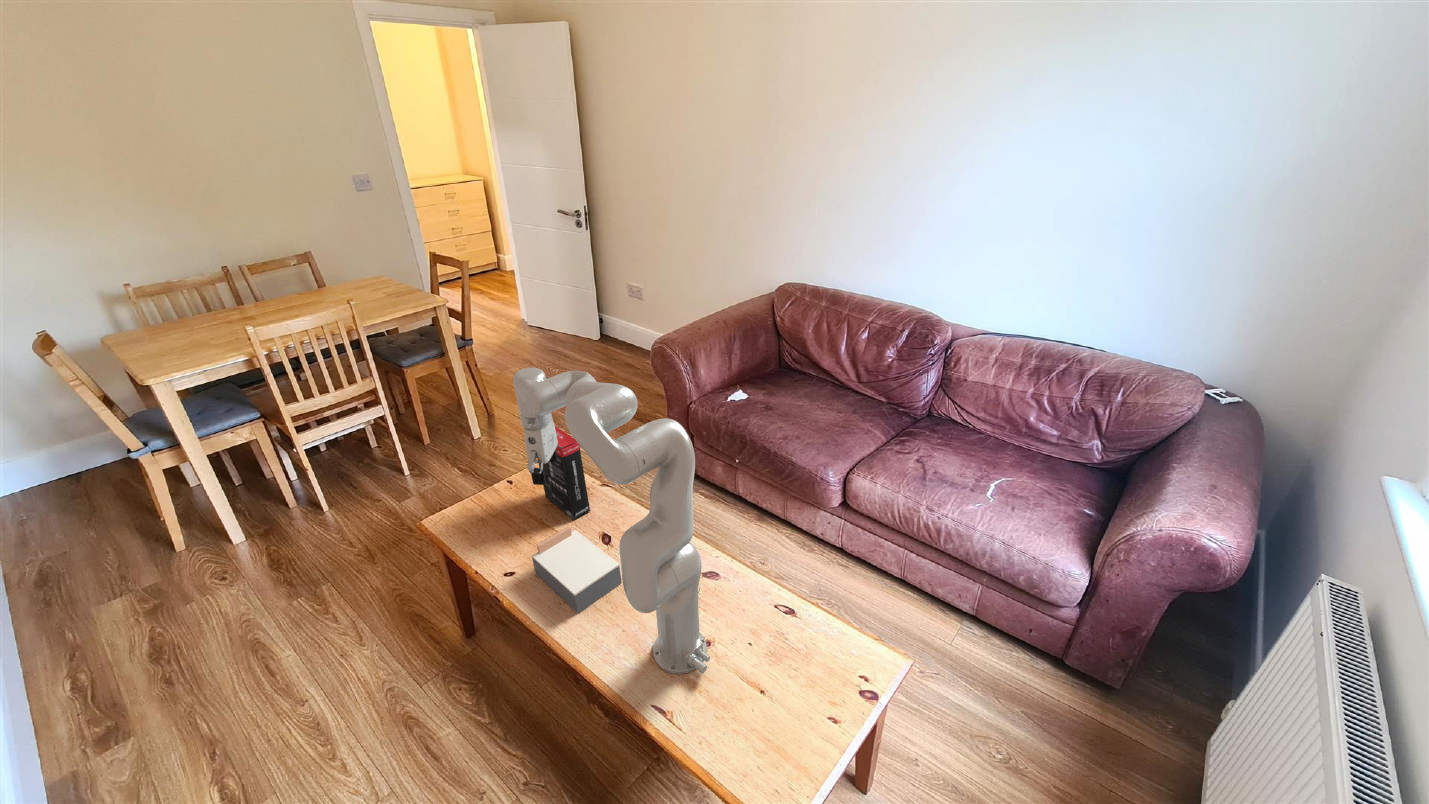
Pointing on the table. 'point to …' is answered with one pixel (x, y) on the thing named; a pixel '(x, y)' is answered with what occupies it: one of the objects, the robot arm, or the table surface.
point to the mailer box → (586, 595)
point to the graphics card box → (567, 478)
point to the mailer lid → (573, 560)
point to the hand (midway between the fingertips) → (545, 472)
